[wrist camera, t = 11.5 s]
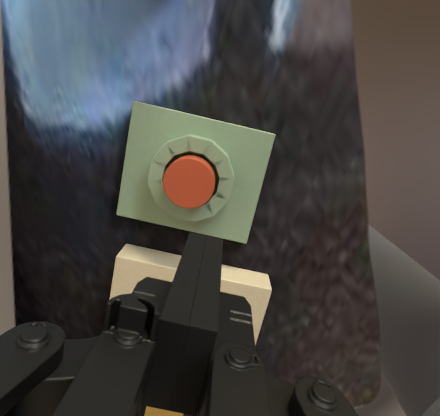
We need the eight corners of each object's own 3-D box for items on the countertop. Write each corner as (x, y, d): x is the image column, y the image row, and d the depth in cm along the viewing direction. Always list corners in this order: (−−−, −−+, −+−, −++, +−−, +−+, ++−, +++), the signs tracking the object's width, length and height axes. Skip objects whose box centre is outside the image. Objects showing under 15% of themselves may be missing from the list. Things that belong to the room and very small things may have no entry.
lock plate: (268, 273, 32) (272, 289, 29) (243, 359, 35) (244, 382, 32) (126, 242, 32) (115, 255, 29) (111, 331, 35) (100, 352, 32)
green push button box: (273, 133, 29) (279, 135, 26) (245, 239, 32) (247, 252, 29) (136, 101, 28) (126, 99, 25) (120, 211, 31) (109, 221, 28)
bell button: (220, 161, 27) (219, 164, 25) (209, 207, 28) (208, 213, 26) (171, 149, 27) (167, 152, 25) (162, 197, 28) (158, 202, 26)
